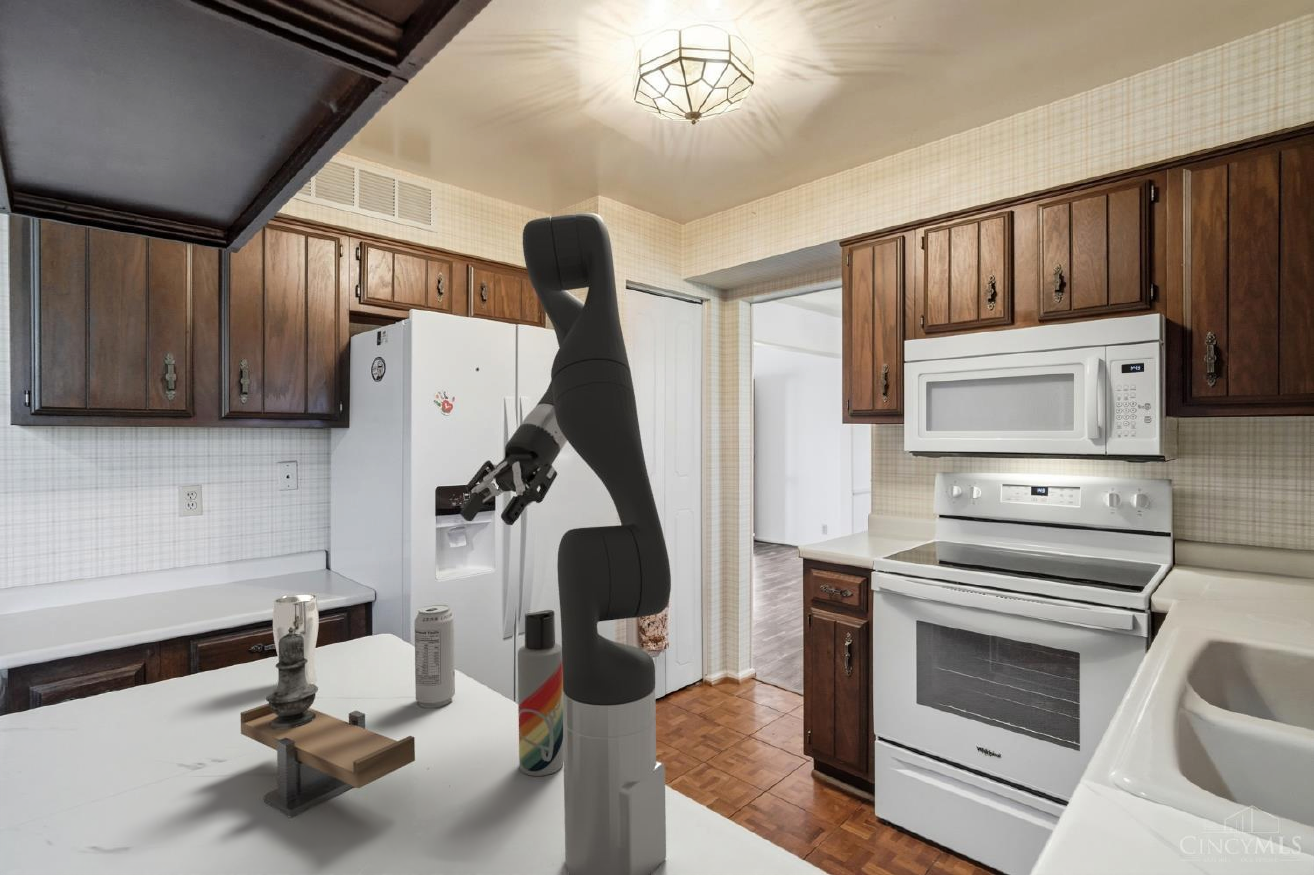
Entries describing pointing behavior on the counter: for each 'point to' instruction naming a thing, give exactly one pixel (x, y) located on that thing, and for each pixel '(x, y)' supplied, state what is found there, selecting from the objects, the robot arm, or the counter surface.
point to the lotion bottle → (540, 697)
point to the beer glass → (298, 625)
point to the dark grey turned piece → (291, 686)
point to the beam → (333, 746)
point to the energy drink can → (434, 656)
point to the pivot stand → (304, 779)
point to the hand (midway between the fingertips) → (485, 519)
